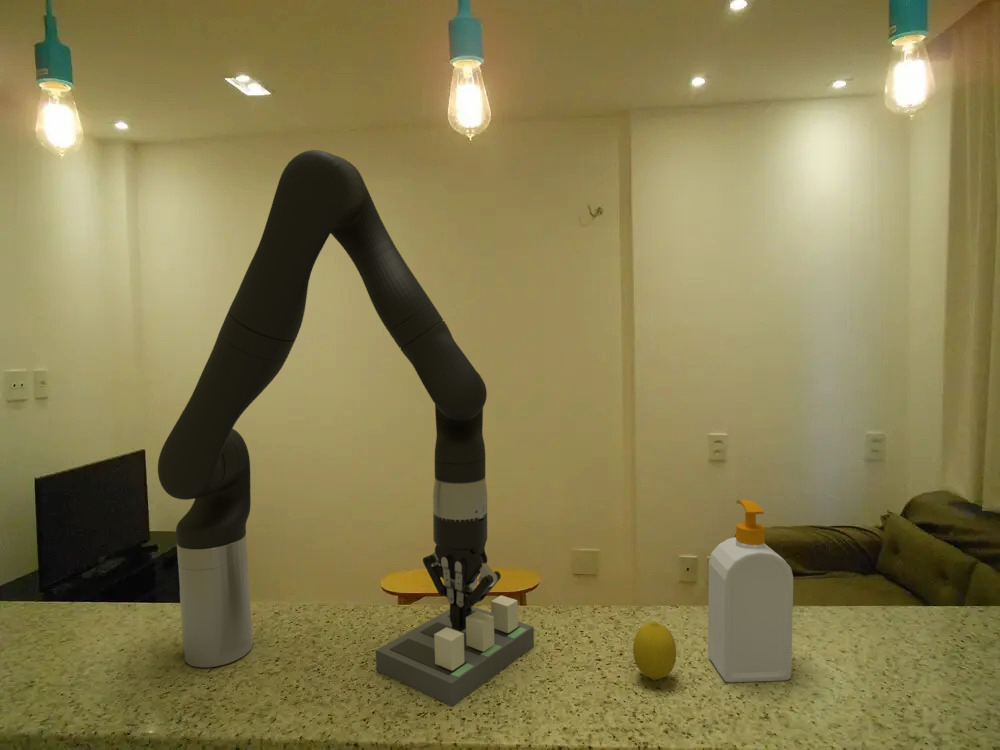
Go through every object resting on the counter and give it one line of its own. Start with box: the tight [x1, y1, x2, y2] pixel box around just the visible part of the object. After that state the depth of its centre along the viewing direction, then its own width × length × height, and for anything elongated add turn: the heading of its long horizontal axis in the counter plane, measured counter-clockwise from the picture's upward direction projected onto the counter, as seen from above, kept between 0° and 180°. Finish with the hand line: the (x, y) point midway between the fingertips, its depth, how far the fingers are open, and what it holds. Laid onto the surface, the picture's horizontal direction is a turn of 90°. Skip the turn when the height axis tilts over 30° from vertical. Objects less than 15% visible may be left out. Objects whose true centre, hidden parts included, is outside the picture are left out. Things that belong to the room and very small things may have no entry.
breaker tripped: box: [466, 611, 494, 652], centre depth 89 cm, size 3×2×4 cm
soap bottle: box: [707, 499, 794, 683], centre depth 87 cm, size 9×7×23 cm
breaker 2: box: [490, 595, 519, 633], centre depth 94 cm, size 3×2×4 cm
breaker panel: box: [375, 605, 535, 707], centre depth 92 cm, size 14×18×3 cm
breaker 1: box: [434, 627, 464, 671], centre depth 85 cm, size 3×2×4 cm
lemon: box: [632, 620, 677, 681], centre depth 86 cm, size 6×6×8 cm
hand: (460, 627), depth 92 cm, fingers closed
